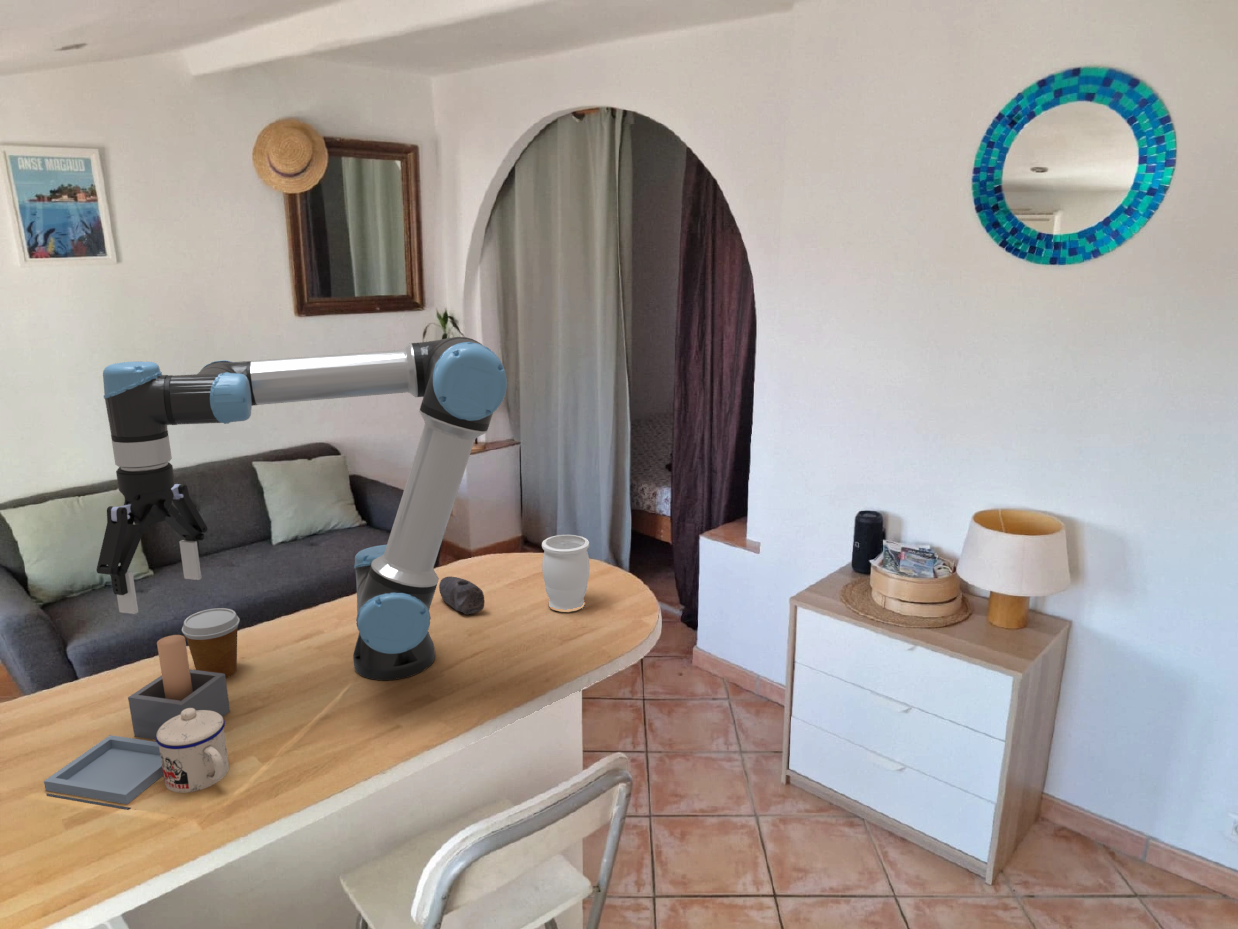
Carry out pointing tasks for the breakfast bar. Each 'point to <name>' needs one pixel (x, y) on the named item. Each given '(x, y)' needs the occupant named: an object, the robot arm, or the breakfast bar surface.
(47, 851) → the breakfast bar surface
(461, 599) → the perforated stone tool
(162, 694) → the open square box
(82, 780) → the tray
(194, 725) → the teacup with lid
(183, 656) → the dowel
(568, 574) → the jar
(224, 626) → the disposable coffee cup
